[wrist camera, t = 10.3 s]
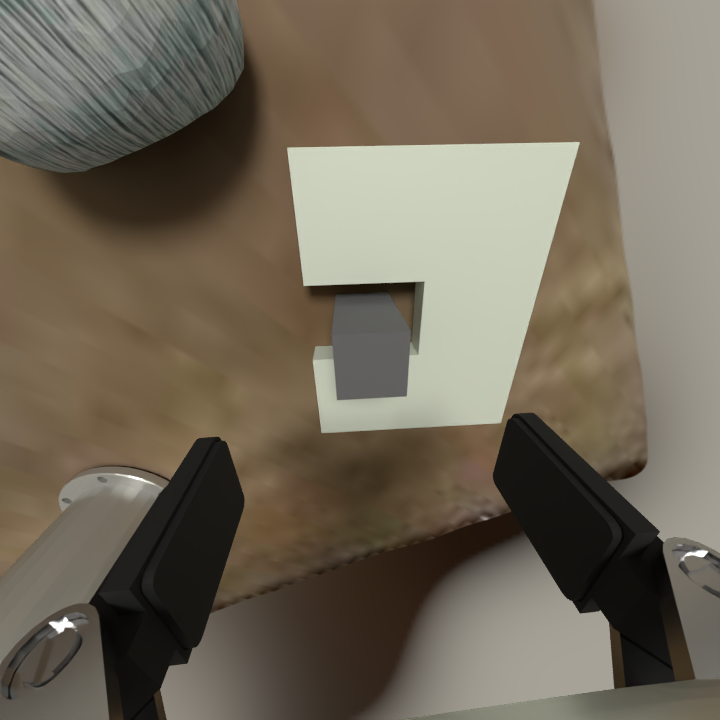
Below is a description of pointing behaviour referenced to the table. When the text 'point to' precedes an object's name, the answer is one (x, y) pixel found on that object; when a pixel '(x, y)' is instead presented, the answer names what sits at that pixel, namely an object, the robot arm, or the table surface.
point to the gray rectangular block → (369, 347)
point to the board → (433, 263)
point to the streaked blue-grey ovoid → (109, 75)
